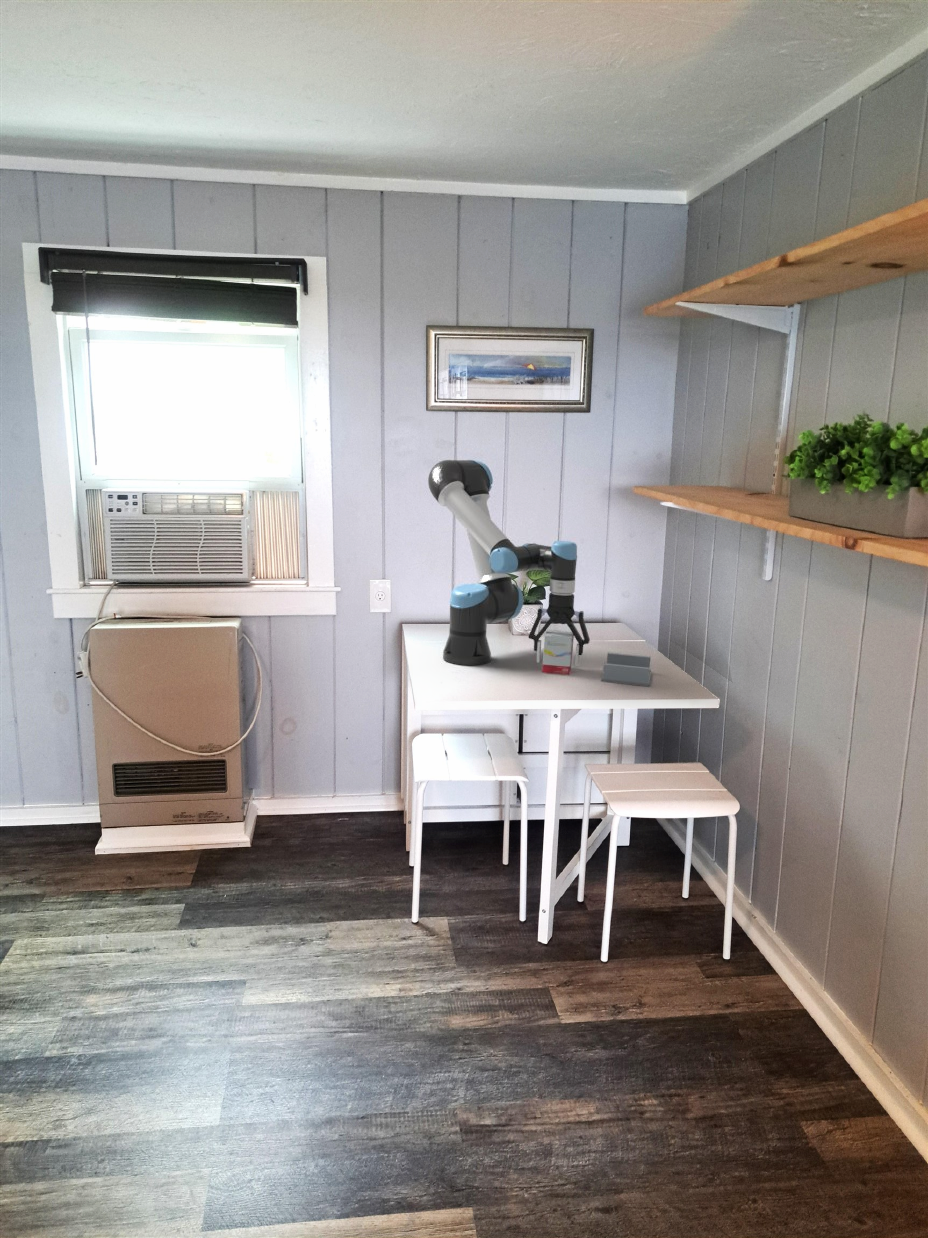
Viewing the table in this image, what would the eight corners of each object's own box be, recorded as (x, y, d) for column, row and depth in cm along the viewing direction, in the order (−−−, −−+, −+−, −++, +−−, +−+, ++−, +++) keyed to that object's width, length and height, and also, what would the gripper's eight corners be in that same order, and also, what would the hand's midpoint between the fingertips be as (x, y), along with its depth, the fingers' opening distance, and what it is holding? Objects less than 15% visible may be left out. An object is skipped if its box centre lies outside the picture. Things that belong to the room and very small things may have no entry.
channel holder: (600, 681, 247) (602, 664, 246) (605, 668, 262) (606, 652, 261) (649, 686, 244) (650, 669, 243) (650, 672, 258) (652, 656, 257)
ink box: (569, 675, 253) (572, 637, 250) (541, 672, 254) (543, 634, 252) (572, 667, 261) (574, 630, 259) (544, 665, 263) (546, 628, 260)
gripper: (521, 592, 252) (517, 662, 256) (600, 598, 246) (594, 670, 251) (525, 587, 259) (521, 656, 264) (602, 594, 253) (597, 664, 258)
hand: (557, 663), depth 257 cm, fingers open, 11 cm apart
